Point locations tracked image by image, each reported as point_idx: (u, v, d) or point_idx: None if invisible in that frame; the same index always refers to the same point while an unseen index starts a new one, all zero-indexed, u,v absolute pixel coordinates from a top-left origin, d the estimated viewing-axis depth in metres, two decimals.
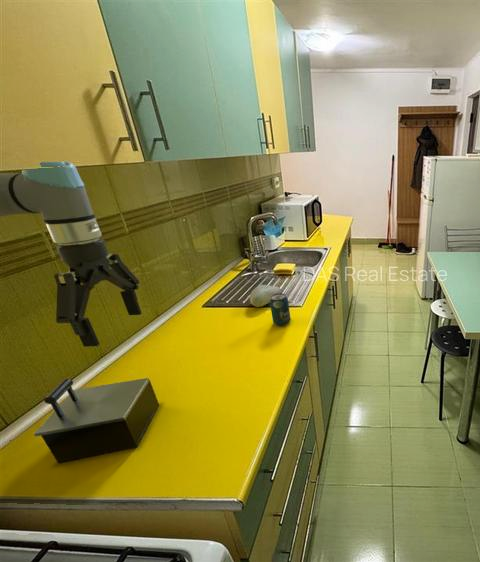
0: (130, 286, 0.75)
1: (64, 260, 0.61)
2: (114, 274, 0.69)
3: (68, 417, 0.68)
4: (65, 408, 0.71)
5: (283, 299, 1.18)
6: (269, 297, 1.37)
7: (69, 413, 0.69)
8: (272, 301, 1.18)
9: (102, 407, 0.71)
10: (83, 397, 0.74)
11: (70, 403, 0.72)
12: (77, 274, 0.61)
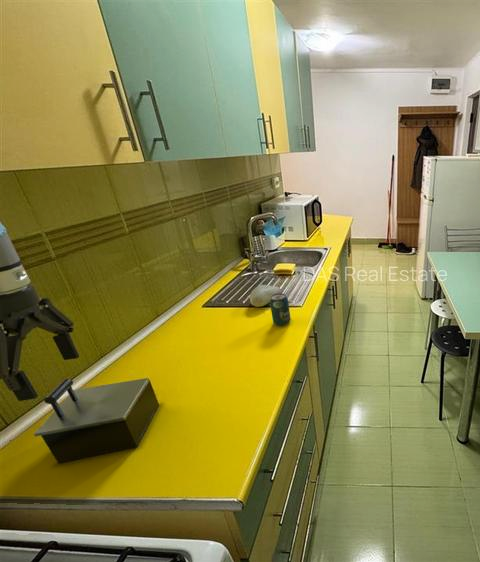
0: (64, 329, 0.71)
1: None
2: (46, 320, 0.66)
3: (68, 417, 0.68)
4: (65, 408, 0.71)
5: (283, 299, 1.18)
6: (269, 297, 1.37)
7: (69, 413, 0.69)
8: (272, 301, 1.18)
9: (102, 407, 0.71)
10: (83, 397, 0.74)
11: (70, 403, 0.72)
12: (6, 326, 0.58)
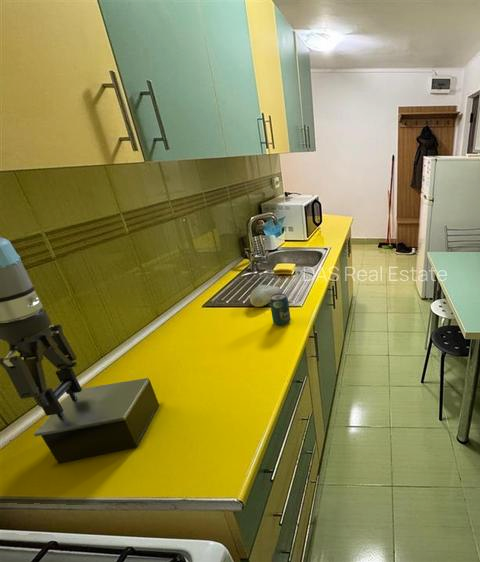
0: (67, 363, 0.71)
1: (3, 338, 0.59)
2: (55, 346, 0.67)
3: (68, 417, 0.68)
4: (65, 408, 0.71)
5: (283, 299, 1.18)
6: (269, 297, 1.37)
7: (69, 413, 0.69)
8: (272, 301, 1.18)
9: (102, 407, 0.71)
10: (83, 397, 0.74)
11: (70, 403, 0.72)
12: (21, 351, 0.60)
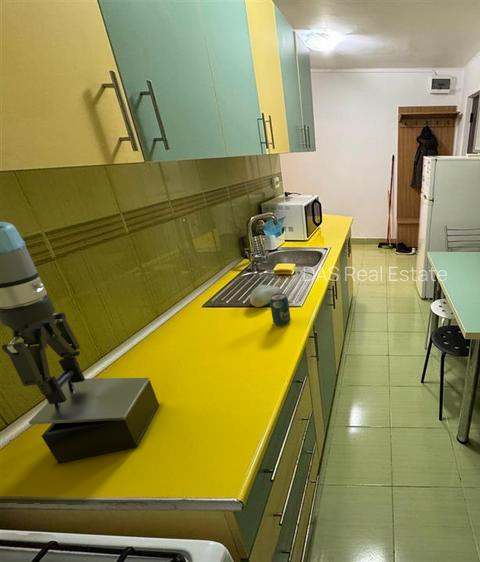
0: (71, 352, 0.70)
1: (6, 324, 0.58)
2: (58, 334, 0.66)
3: (65, 408, 0.67)
4: None
5: (283, 299, 1.18)
6: (269, 297, 1.37)
7: (66, 404, 0.68)
8: (272, 301, 1.18)
9: (101, 403, 0.70)
10: (80, 388, 0.73)
11: (67, 393, 0.71)
12: (25, 338, 0.59)
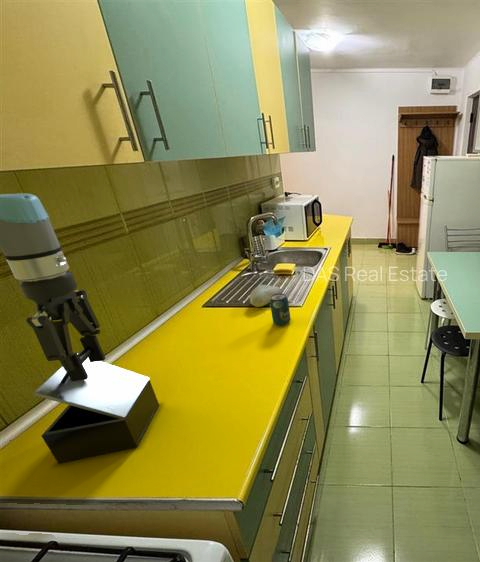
0: (92, 330, 0.69)
1: (30, 297, 0.58)
2: (80, 311, 0.66)
3: (70, 388, 0.66)
4: None
5: (283, 299, 1.18)
6: (269, 297, 1.37)
7: (71, 383, 0.67)
8: (272, 301, 1.18)
9: (104, 393, 0.70)
10: (86, 368, 0.72)
11: None
12: (48, 312, 0.59)
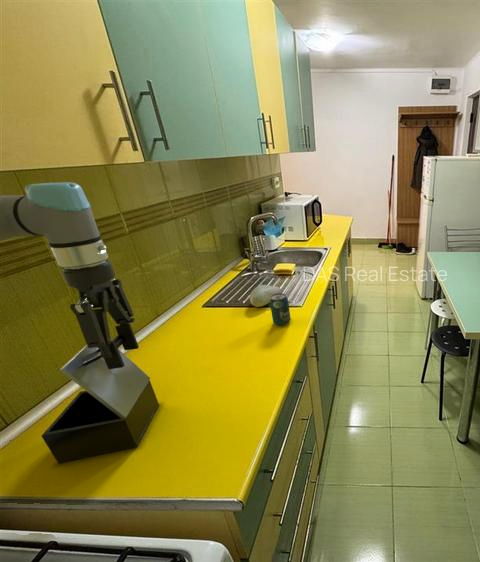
0: (127, 318, 0.70)
1: (73, 284, 0.59)
2: (117, 299, 0.67)
3: (90, 372, 0.66)
4: (90, 355, 0.68)
5: (283, 299, 1.18)
6: (269, 297, 1.37)
7: (91, 366, 0.67)
8: (272, 301, 1.18)
9: (115, 385, 0.70)
10: None
11: (95, 351, 0.69)
12: (90, 299, 0.60)
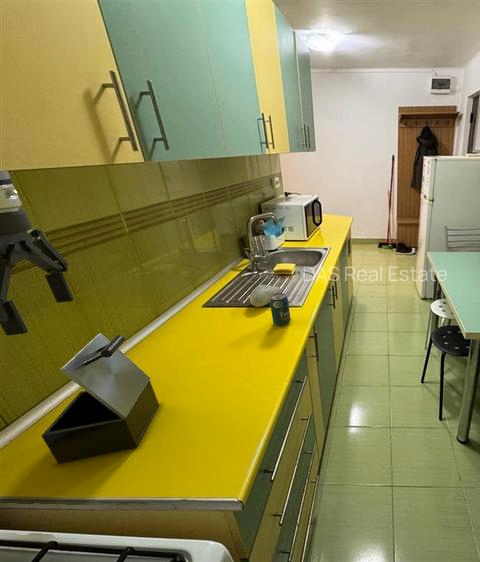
0: (58, 268, 0.65)
1: None
2: (39, 252, 0.60)
3: (90, 372, 0.66)
4: (90, 355, 0.68)
5: (283, 299, 1.18)
6: (269, 297, 1.37)
7: (91, 366, 0.67)
8: (272, 301, 1.18)
9: (115, 385, 0.70)
10: None
11: (95, 351, 0.69)
12: None
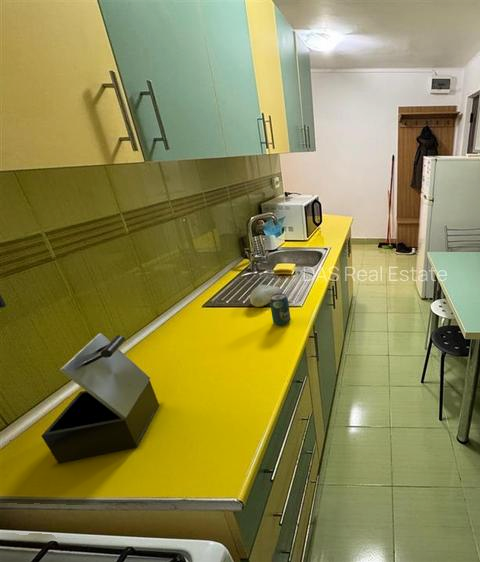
0: None
1: None
2: None
3: (90, 372, 0.66)
4: (90, 355, 0.68)
5: (283, 299, 1.18)
6: (269, 297, 1.37)
7: (91, 366, 0.67)
8: (272, 301, 1.18)
9: (115, 385, 0.70)
10: None
11: (95, 351, 0.69)
12: None
